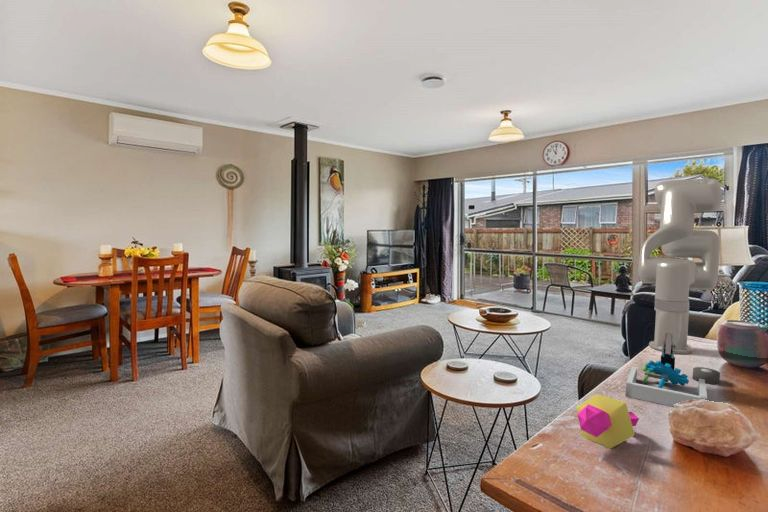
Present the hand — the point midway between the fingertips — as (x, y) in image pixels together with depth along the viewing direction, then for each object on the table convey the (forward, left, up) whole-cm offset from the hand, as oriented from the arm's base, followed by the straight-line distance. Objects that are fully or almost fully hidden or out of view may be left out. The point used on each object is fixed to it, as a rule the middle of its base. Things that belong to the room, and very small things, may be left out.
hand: (667, 370), depth 112 cm
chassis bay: (+9, 0, -4) cm, 10 cm away
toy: (+44, -9, -4) cm, 45 cm away
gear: (+2, 0, -4) cm, 5 cm away
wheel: (-10, +9, -4) cm, 14 cm away
